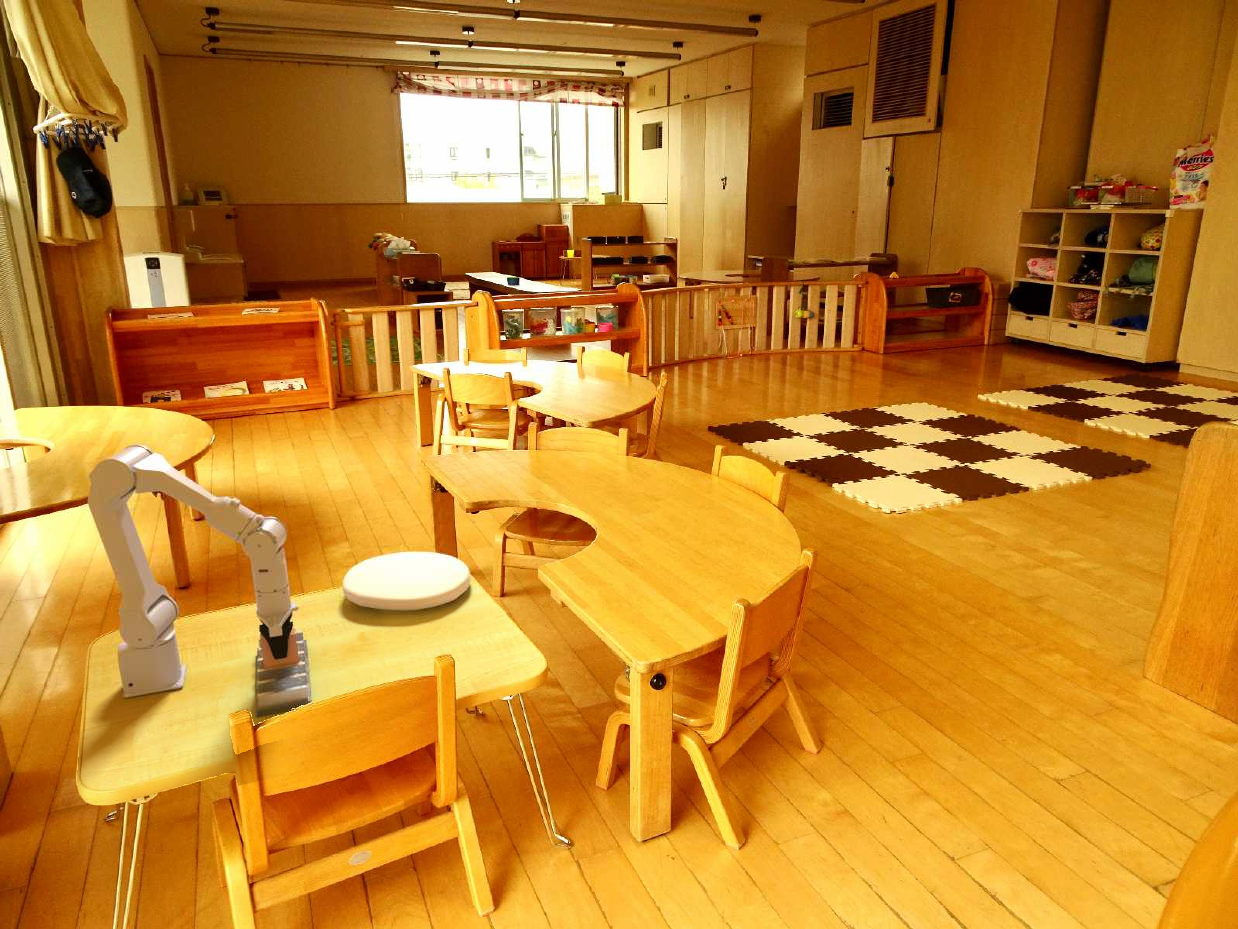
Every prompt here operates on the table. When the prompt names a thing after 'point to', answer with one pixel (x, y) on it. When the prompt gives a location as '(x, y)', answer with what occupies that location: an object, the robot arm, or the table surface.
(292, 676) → the rack
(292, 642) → the tile
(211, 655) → the table surface
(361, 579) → the white round disc
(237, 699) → the table surface
